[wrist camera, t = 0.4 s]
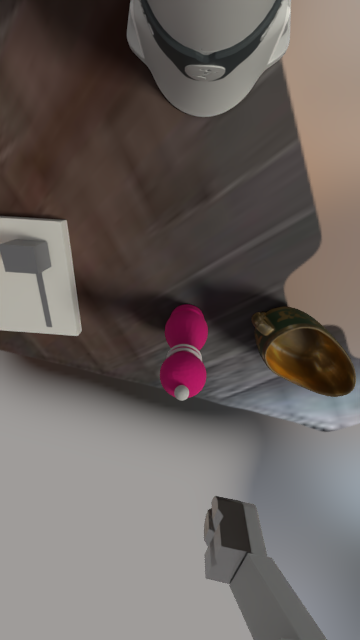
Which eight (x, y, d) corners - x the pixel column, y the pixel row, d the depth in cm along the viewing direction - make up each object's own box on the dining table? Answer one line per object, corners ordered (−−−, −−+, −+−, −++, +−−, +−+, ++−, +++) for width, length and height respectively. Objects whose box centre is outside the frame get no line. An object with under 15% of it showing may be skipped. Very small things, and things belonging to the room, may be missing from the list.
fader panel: (-57, 212, 42) (-69, 213, 40) (66, 220, 42) (60, 221, 40) (-20, 322, 51) (-29, 328, 49) (81, 330, 51) (77, 336, 49)
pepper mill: (174, 340, 51) (161, 424, 33) (162, 306, 47) (141, 379, 30) (211, 331, 49) (218, 415, 31) (201, 297, 46) (204, 367, 28)
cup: (315, 268, 43) (346, 291, 34) (337, 361, 51) (367, 400, 42) (238, 297, 46) (248, 326, 37) (271, 380, 54) (285, 420, 45)
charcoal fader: (15, 239, 41) (-2, 244, 38) (47, 241, 41) (32, 246, 37) (21, 264, 43) (5, 271, 39) (51, 266, 43) (38, 274, 39)
